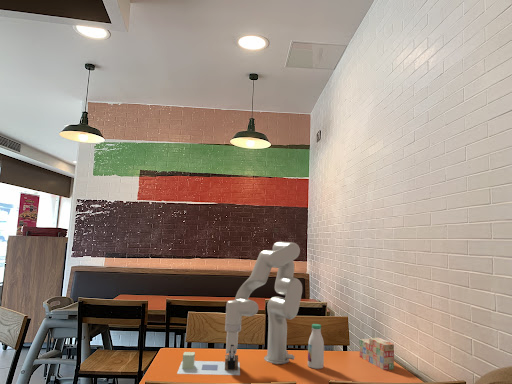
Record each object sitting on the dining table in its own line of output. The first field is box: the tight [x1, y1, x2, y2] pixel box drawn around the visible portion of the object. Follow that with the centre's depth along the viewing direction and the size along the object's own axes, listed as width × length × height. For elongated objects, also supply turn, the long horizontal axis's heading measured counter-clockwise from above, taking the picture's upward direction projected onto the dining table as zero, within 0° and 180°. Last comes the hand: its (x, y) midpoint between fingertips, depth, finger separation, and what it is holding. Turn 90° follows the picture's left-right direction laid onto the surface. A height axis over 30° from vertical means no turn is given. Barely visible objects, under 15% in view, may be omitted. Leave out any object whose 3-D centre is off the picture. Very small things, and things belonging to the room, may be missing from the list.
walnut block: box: [224, 354, 239, 370], centre depth 182 cm, size 6×6×5 cm
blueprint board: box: [176, 360, 241, 376], centre depth 182 cm, size 28×18×1 cm, turn 93°
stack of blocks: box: [359, 337, 395, 371], centre depth 202 cm, size 21×6×12 cm, turn 18°
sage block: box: [182, 351, 196, 369], centre depth 181 cm, size 5×5×6 cm
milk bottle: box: [307, 323, 325, 370], centre depth 192 cm, size 8×8×20 cm
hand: (231, 366), depth 182 cm, fingers open, 7 cm apart
